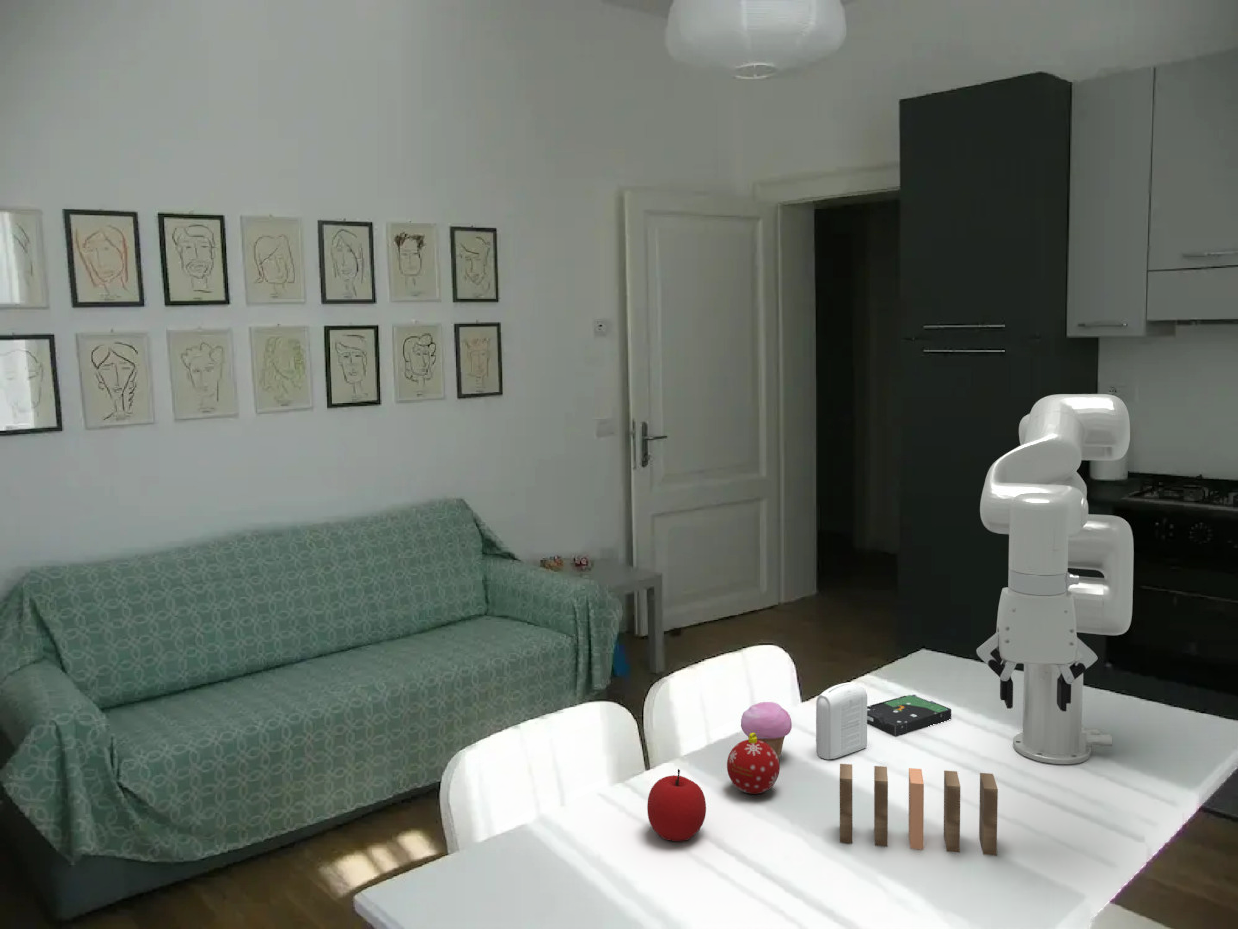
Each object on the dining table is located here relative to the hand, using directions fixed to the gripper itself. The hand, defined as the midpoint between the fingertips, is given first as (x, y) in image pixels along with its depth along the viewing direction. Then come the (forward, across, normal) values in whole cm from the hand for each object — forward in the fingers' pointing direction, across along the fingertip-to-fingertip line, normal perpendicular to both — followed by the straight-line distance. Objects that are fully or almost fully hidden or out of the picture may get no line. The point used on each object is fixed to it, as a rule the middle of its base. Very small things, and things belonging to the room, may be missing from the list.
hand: (1034, 705), depth 139 cm
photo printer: (+22, +27, -30) cm, 46 cm away
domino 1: (+22, +26, 0) cm, 34 cm away
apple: (+22, +51, +4) cm, 56 cm away
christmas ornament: (+22, +41, -12) cm, 48 cm away
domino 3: (+22, +16, 0) cm, 27 cm away
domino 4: (+22, +11, 0) cm, 24 cm away
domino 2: (+22, +21, 0) cm, 30 cm away
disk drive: (+22, +16, -47) cm, 54 cm away
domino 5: (+22, +6, 0) cm, 22 cm away
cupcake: (+22, +40, -25) cm, 52 cm away
